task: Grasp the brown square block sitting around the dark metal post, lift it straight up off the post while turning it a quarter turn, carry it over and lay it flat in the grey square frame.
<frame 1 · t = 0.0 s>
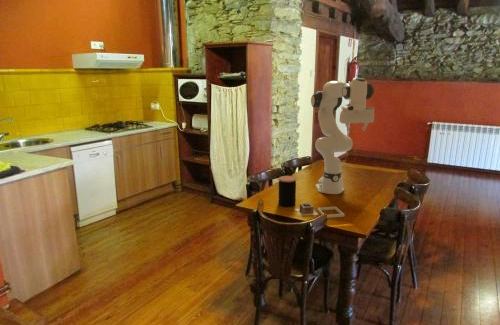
hand: (356, 130, 205), 48 cm above the table, fingers open, 8 cm apart
stake: (306, 213, 209), on the table
coffee jar: (286, 205, 221), on the table
grey square frame: (330, 214, 206), on the table
brown square block: (306, 211, 209), point 1 cm above the table, touching stake
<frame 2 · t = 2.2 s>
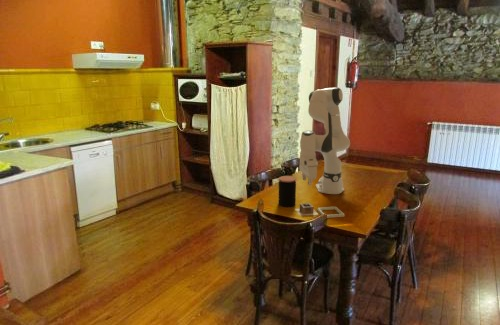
hand: (307, 182, 204), 19 cm above the table, fingers open, 8 cm apart
nothing on the table moved.
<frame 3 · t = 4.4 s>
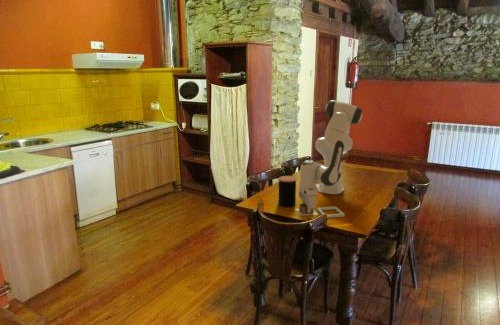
hand: (306, 209, 209), 2 cm above the table, fingers closed on brown square block, 6 cm apart
brown square block: (306, 211, 209), point 1 cm above the table, touching gripper, stake
everything else where it was.
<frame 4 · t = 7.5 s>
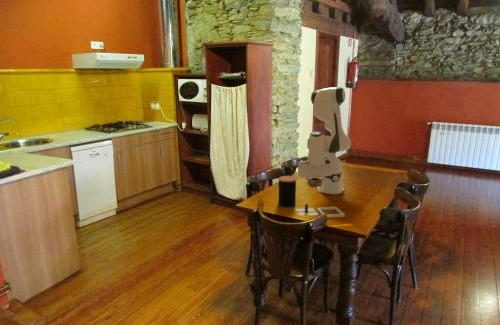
hand: (314, 183, 204), 19 cm above the table, fingers closed on brown square block, 6 cm apart
brown square block: (314, 185, 204), point 18 cm above the table, touching gripper
everything else where it was.
when the fingers open (4 cm above the table, at t = 10.7 s): brown square block drops 2 cm, resting on grey square frame.
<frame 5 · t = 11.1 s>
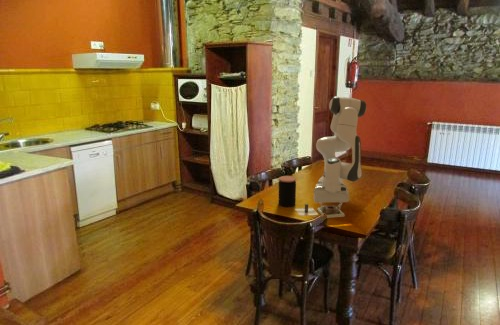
hand: (330, 209, 206), 4 cm above the table, fingers open, 8 cm apart
brown square block: (330, 213, 206), point 1 cm above the table, touching grey square frame
everything else where it was.
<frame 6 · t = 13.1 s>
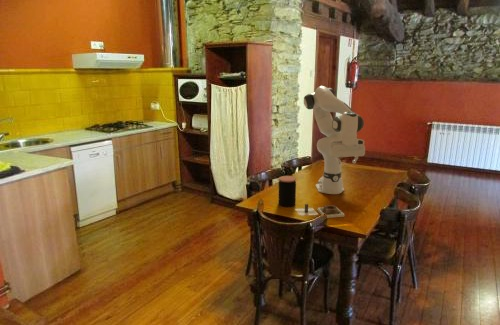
hand: (346, 163, 205), 29 cm above the table, fingers open, 8 cm apart
nothing on the table moved.
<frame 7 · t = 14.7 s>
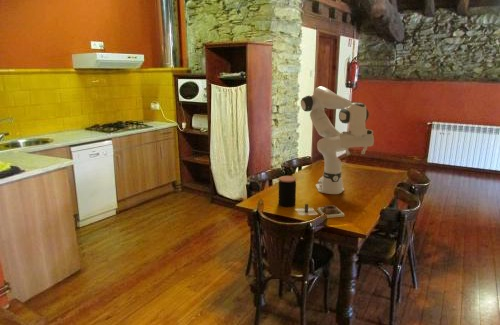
hand: (355, 154, 207), 34 cm above the table, fingers open, 8 cm apart
nothing on the table moved.
at the end: brown square block inside the target area on the grey square frame (0.1 cm from its centre), point 0.6 cm above the grey square frame's base; brown square block tilted 0°; the gripper is holding nothing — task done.
